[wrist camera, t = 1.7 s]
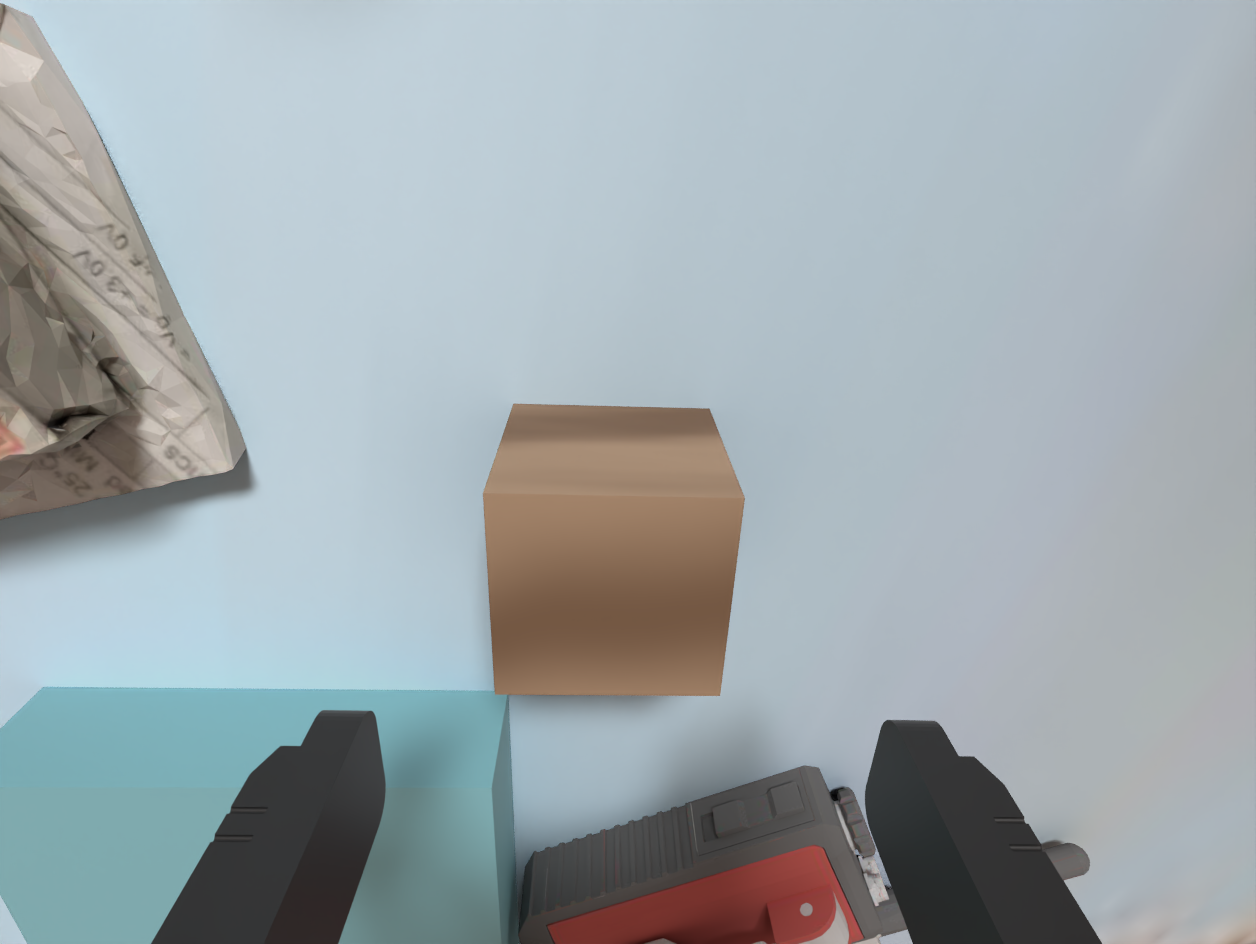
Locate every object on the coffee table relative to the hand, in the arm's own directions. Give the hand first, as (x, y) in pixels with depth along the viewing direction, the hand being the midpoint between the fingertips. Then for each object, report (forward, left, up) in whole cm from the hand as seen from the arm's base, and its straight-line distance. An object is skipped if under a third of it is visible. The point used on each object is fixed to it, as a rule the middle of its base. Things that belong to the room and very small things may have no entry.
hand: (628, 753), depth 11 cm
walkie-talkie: (+15, +7, -9) cm, 19 cm away
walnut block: (0, 0, -9) cm, 9 cm away
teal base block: (+14, -10, -9) cm, 19 cm away
